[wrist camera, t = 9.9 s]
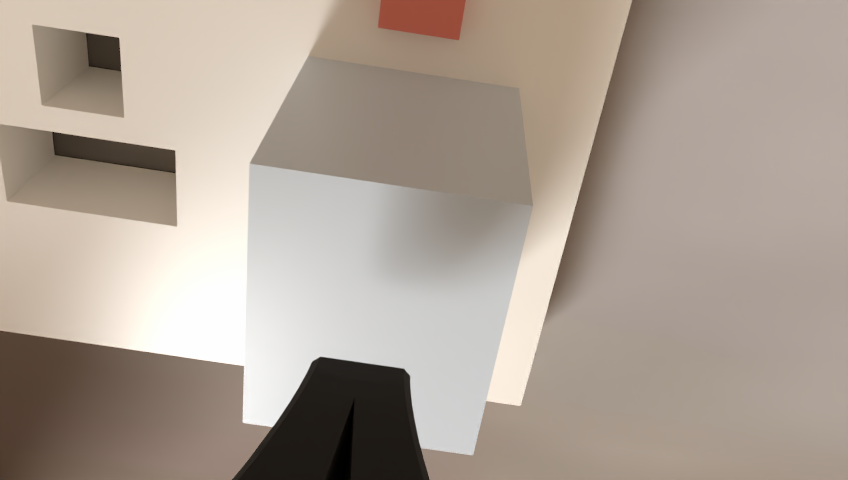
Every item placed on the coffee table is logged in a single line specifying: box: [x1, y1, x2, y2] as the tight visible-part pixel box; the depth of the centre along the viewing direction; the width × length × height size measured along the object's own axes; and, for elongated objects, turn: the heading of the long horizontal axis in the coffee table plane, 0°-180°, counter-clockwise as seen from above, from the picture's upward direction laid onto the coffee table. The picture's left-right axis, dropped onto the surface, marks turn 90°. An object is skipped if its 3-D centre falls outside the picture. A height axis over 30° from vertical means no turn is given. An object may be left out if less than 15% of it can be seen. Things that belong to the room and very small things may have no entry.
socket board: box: [0, 0, 632, 406], centre depth 19 cm, size 12×15×3 cm
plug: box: [243, 56, 533, 455], centre depth 17 cm, size 6×4×7 cm
